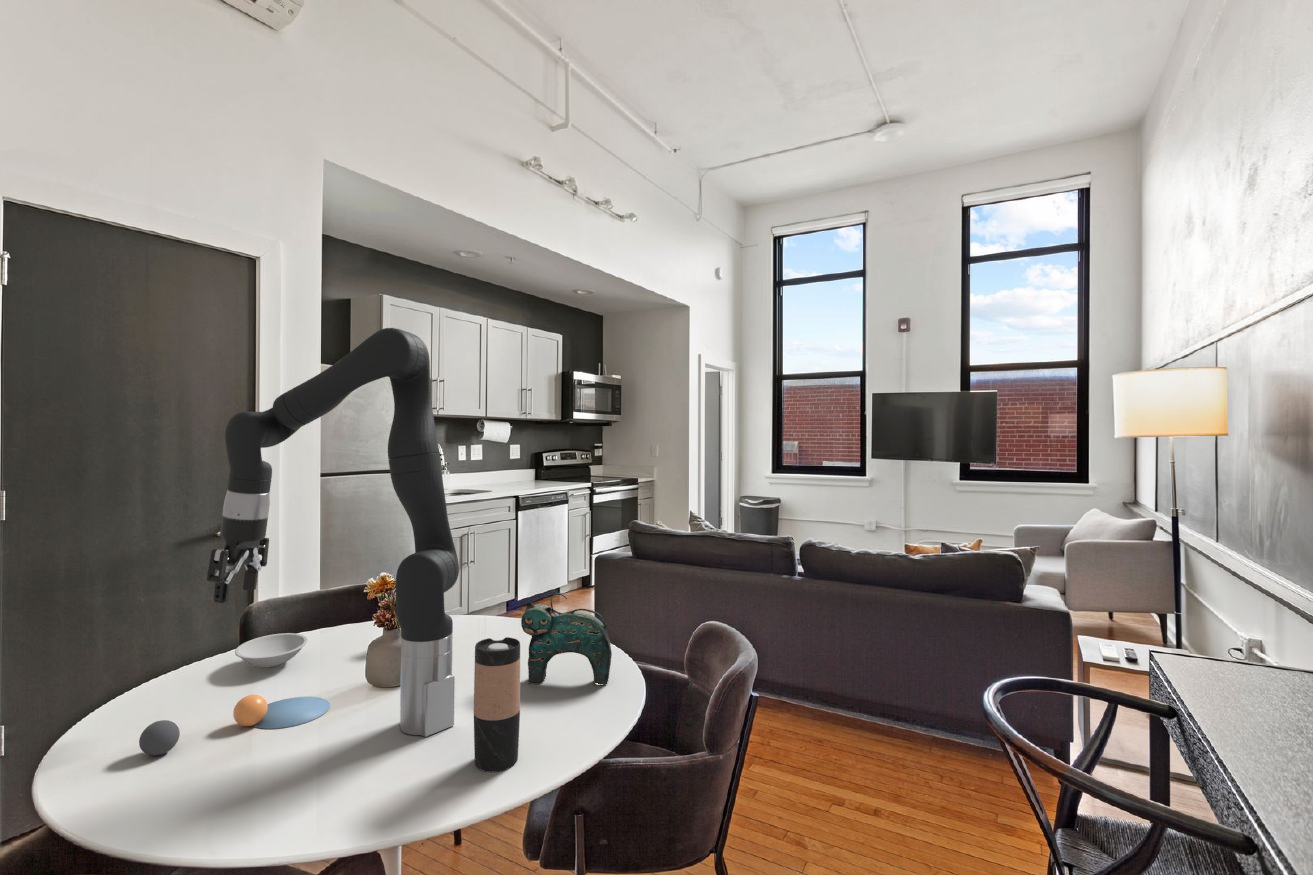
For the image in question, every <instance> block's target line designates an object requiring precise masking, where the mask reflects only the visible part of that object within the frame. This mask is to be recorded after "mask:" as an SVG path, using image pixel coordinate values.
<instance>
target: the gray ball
mask: <svg viewBox="0 0 1313 875" xmlns="http://www.w3.org/2000/svg"><path fill="white" fill-rule="evenodd" d="M180 732H181V731H180V728H179V726H178V725H177V723H175V722H173V721H171V720H167V719H162V720H161V719H160V720H157V721H154V722H152V723H150V724H149V725H148V726H147V727H146V728H145V729H143V731H142V732H141V734H140V737H139V740H138V742H139V748H140V750H141V751H142V753H144V754H146V755H148V756H157V757H158V756H161V755H164V754H166V753H168V752H169V751H171V750H172V749H173V748H174V747H176V745H177V743H178V742H179V739H180V735H181V733H180Z"/></svg>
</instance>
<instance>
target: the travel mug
mask: <svg viewBox="0 0 1313 875" xmlns="http://www.w3.org/2000/svg"><path fill="white" fill-rule="evenodd" d="M473 676H474V679H473V680H474V681H473V684H474V686H473V739H474V741H473V743H474V745H473V746H474V752H473V753H474V765H475V767H476V768H477V769H478V770H480V771H482V770H484V771H483V772H487V771H488V773H493V772H492V771H497V772H501V771H500V770H502V771H506V770H508V769H510V768H512V767H514V766H515V765H516V764H517V762H518V759H519V746H520V744H519V741H520V739H519V738H520V719H521V718H520V716H521V642H520V641H519V639H517V638H514V637H510V636H509V637H508V636H507V637H504V638H503V639H499V640H494V639H492V638H485V639H482V640H480V641H478V642H476V644H475V646H474V673H473ZM515 763H516V764H515ZM514 764H515V765H514ZM511 766H512V767H511ZM507 768H508V769H507ZM505 769H506V770H505ZM489 771H490V772H489Z"/></svg>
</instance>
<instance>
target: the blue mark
mask: <svg viewBox="0 0 1313 875" xmlns="http://www.w3.org/2000/svg"><path fill="white" fill-rule="evenodd" d="M267 705H268V710H267V713H266V715H265V717H264V718H263V719H262V720H261V721H260V722H259V723H257V724H255V725H253V726H252V727H253V728H256V729H257V728H258V729H262V730H263V729H264V730H267V729H268V730H271V729H272V730H276V729H286V728H291V727H295V726H299V725H303V724H307V723H309V722H313V721H315V720H316V719H319V718H321V717H323V715H325V714H326V713H327V712H328V711H329V710H330V707H331V704H330V702H329V701H328V699H325V698H322V697H318V696H297V697H289V698H285V699H284V698H282V699H280V700H276V701H273V702H272V701H271V702H270V703H267Z"/></svg>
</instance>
